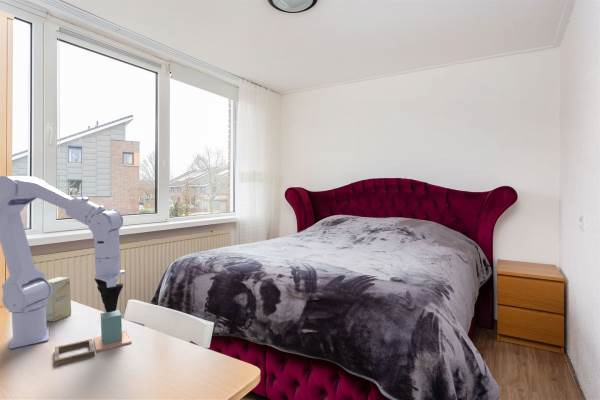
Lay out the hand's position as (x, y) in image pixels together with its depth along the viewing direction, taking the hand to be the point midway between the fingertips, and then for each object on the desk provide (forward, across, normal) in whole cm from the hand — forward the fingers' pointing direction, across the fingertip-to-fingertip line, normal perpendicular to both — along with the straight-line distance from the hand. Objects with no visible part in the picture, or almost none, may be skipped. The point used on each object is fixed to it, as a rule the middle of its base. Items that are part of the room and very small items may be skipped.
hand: (109, 306), depth 91 cm
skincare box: (+10, +28, +12) cm, 31 cm away
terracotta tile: (+9, 0, 0) cm, 9 cm away
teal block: (+9, 0, 0) cm, 9 cm away
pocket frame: (+9, -2, +8) cm, 13 cm away
